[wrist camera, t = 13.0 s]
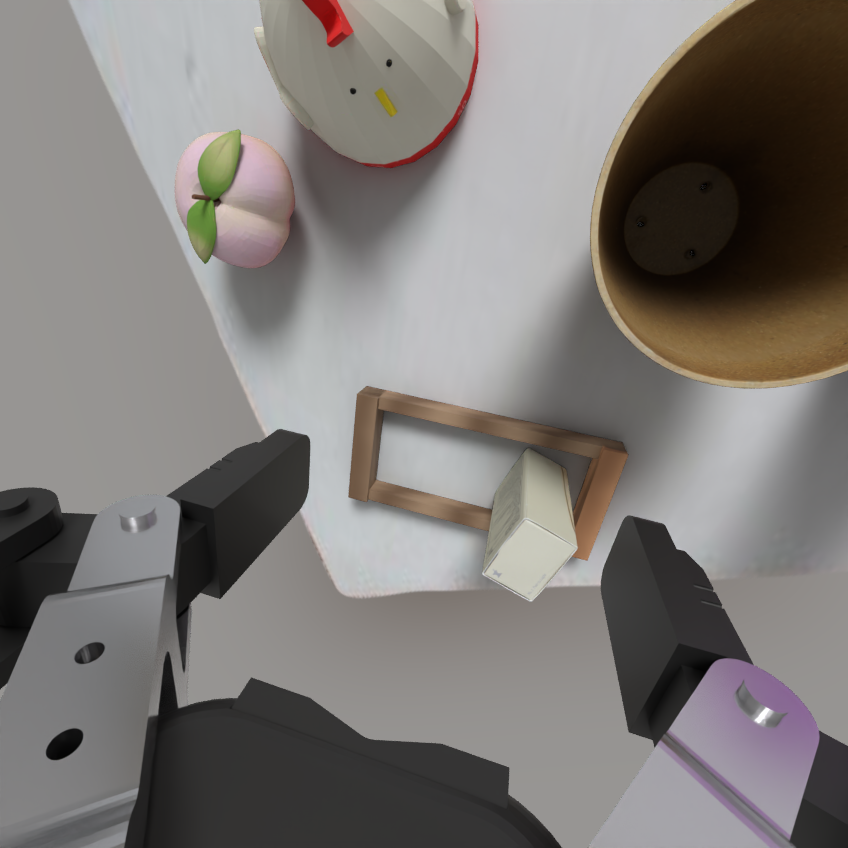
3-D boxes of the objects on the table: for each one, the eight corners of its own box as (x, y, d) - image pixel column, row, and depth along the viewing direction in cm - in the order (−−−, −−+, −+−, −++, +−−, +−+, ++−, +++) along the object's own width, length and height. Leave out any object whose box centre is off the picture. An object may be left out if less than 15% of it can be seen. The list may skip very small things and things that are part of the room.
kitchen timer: (353, 202, 35) (242, 174, 22) (264, 21, 32) (69, -145, 18) (510, 98, 30) (492, -22, 17) (424, -130, 27) (317, -509, 13)
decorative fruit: (238, 129, 35) (137, 88, 26) (327, 165, 35) (255, 136, 26) (223, 245, 39) (131, 244, 30) (303, 278, 39) (233, 288, 30)
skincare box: (531, 513, 42) (531, 606, 31) (492, 491, 42) (478, 576, 32) (568, 466, 40) (582, 550, 29) (526, 443, 40) (524, 517, 29)
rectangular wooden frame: (622, 442, 38) (628, 454, 35) (584, 543, 42) (587, 560, 40) (366, 385, 41) (357, 394, 39) (357, 485, 46) (348, 497, 44)
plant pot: (589, 98, 29) (643, -45, 15) (839, 101, 26) (1203, -73, 12) (549, 318, 35) (560, 368, 21) (750, 339, 32) (923, 412, 18)
